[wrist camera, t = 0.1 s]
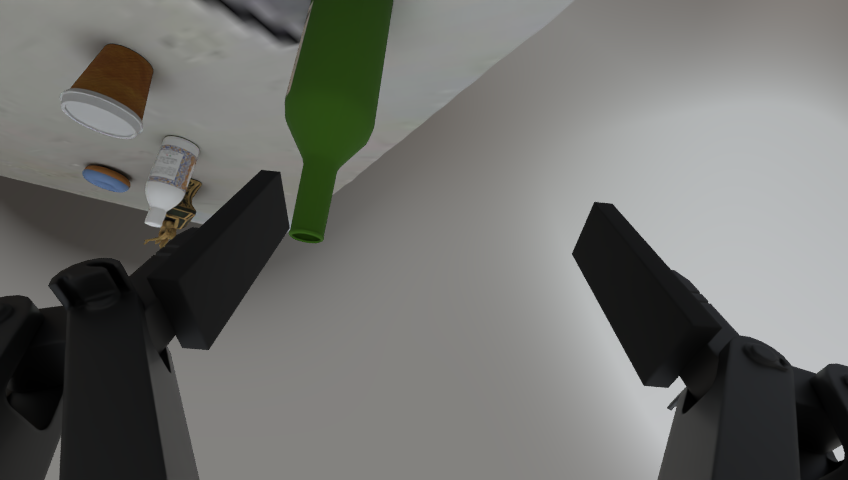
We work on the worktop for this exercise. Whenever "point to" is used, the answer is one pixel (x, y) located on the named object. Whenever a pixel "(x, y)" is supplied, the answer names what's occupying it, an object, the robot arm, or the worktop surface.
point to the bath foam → (169, 177)
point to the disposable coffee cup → (111, 93)
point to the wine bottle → (333, 99)
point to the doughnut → (106, 178)
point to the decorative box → (178, 215)
